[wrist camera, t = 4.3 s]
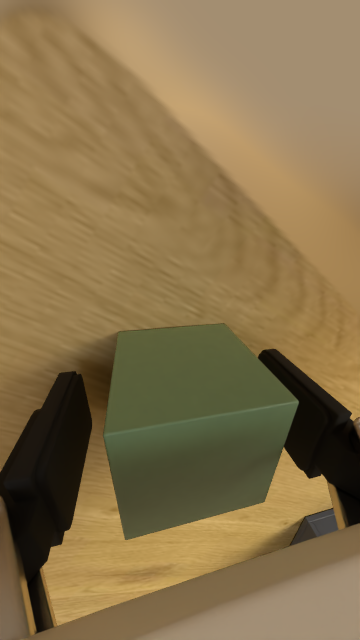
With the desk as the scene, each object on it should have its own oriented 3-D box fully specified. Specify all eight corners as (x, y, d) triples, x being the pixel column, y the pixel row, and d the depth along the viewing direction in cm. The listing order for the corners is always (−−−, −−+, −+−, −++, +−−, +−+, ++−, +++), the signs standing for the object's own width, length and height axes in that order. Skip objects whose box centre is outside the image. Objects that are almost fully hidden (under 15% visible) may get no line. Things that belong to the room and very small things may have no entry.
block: (118, 331, 9) (102, 435, 4) (224, 322, 10) (300, 401, 5) (128, 413, 11) (124, 541, 6) (215, 399, 12) (265, 502, 7)
